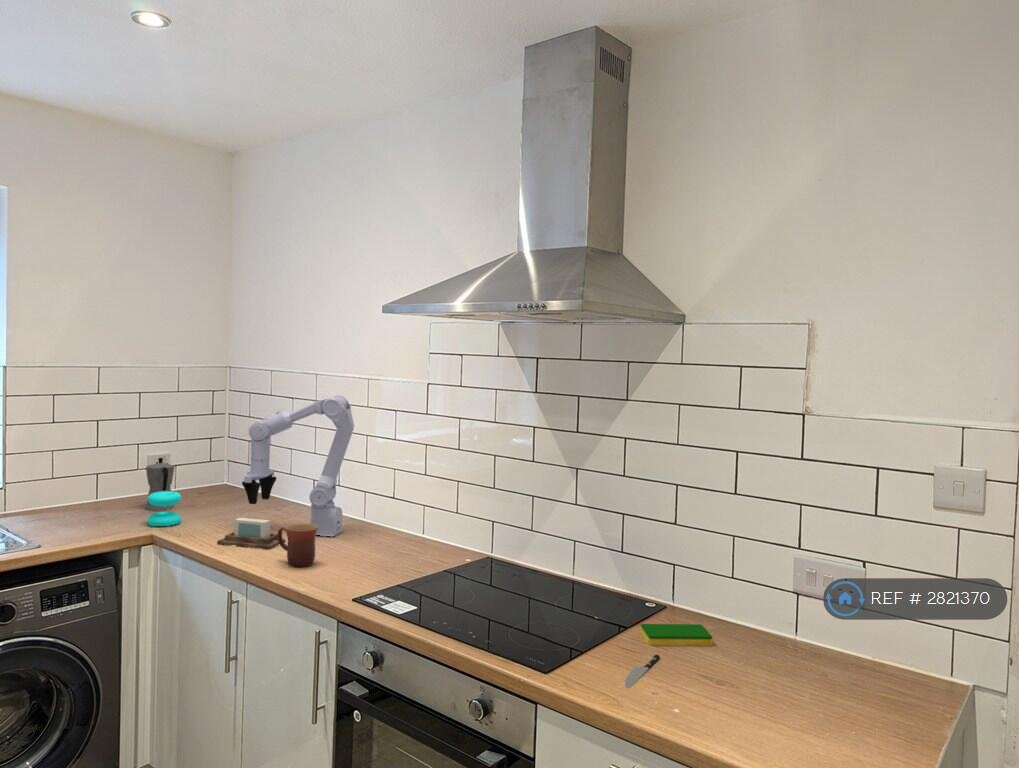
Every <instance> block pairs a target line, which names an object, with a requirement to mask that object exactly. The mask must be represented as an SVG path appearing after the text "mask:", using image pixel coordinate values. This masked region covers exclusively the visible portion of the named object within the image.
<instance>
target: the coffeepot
mask: <svg viewBox="0 0 1019 768" xmlns="http://www.w3.org/2000/svg"><path fill="white" fill-rule="evenodd" d="M157 460H158V462H157V463H153V464H148V465H147V466H145V469H146V476H147V477H146V478H147V483H148V486H149V490H148V493H147V497H148V496H149V495H150V494H152V493H156V492H165V491H171V492H173V491H172V489H171V485H172V483H173V478H174V473H175V467H176V465H174V464H170V463H166V462H163V461H164V458H163V457H158V459H157ZM173 508H175V505H171V506H154V505H152V504H150V503H149V502H148V498H147V499H146V505H145V509H146V510H147V511H149V510H152V512H159V511H158V510H165V511H168V510H167V509H170V510H172V509H173Z"/></svg>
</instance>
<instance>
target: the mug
mask: <svg viewBox="0 0 1019 768" xmlns="http://www.w3.org/2000/svg"><path fill="white" fill-rule="evenodd" d="M317 530H318V526H317V525H314V524H311V523H293V524H289V525H286V526H282V527H279V529H278V530H277V533H276V534H277V538H278V542H279V544H280V545H279V546H280V547H281V548H282V549H283V550H284V551H286V553H287V554H286V559H287V563H288V565H289V566H291V567H293V566H294V568H306V567H309V566H311V565H313V563H315V559H316V538H317V536H316V533H317ZM283 531H284V532H286V536H287V544H286V542H283V539H284V538H283ZM305 566H306V567H305Z"/></svg>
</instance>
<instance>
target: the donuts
mask: <svg viewBox="0 0 1019 768" xmlns="http://www.w3.org/2000/svg"><path fill="white" fill-rule="evenodd" d="M171 491H172V490H171ZM171 491H165V492H156V493H152V494H150V495H149V496H148V495H147V499H148V502H149V503H150V504H152V505H154V506H171V505H174V506H175V505H178V503H180V502H181V500H182V495H181V494H180V492H177V491H172V492H171ZM181 521H182V516H181V515H180V514H179V513H177V512H175V511H170V510H165V511H156V512H155V513H152V514H150V515H149V516H148V517H147V524H148V525H149V526H152V527H155V526H167V527H172V526H171V525H173V526H176V525H178V524H179V523H180V522H181ZM175 524H176V525H175Z"/></svg>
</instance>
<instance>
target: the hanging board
mask: <svg viewBox="0 0 1019 768" xmlns="http://www.w3.org/2000/svg"><path fill="white" fill-rule="evenodd" d="M283 542H284V543H286V538H283ZM216 543H217V545H219V544H225V545H224V546H229V545H236V546H235V547H238V546H245V547H244V548H248V547H254V548H253V549H258V548H263V549H262V550H267V549H270V550H272V549H274V548H276V547H278V546H280V545H279V542H278V538H277V533H270V537H268V538H266V539H262V538H252V537H242V536H234V531H232V532H231V533H227V534H225V535H224V538H221V539H218V540H217V541H216ZM277 545H278V546H277ZM275 546H276V547H275ZM273 547H274V548H273ZM271 548H272V549H271Z"/></svg>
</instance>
